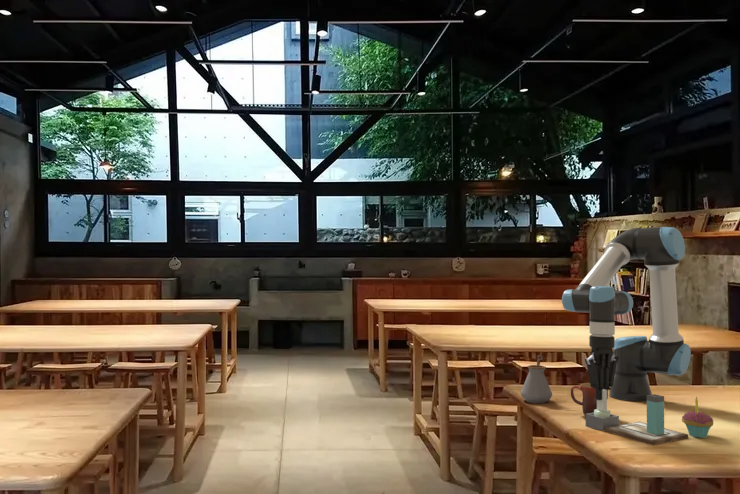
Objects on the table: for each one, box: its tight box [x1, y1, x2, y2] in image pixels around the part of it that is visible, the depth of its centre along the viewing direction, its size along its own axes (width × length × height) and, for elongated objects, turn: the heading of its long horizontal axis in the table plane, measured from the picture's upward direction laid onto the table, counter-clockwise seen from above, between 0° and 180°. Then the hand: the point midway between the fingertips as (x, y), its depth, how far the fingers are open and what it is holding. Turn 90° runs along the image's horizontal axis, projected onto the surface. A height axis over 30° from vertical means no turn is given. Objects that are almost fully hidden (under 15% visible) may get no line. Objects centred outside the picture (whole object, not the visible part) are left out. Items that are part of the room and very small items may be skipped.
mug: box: [570, 382, 597, 417], centre depth 221 cm, size 12×9×10 cm
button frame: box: [585, 413, 620, 432], centre depth 206 cm, size 7×7×4 cm
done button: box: [594, 409, 611, 418], centre depth 206 cm, size 5×5×4 cm
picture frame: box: [604, 421, 689, 446], centre depth 197 cm, size 16×17×1 cm
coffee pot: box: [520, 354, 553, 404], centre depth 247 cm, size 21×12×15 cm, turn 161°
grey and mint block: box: [646, 393, 665, 435], centre depth 194 cm, size 3×3×11 cm
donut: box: [681, 396, 714, 439], centre depth 197 cm, size 9×8×12 cm
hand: (601, 410), depth 206 cm, fingers closed
